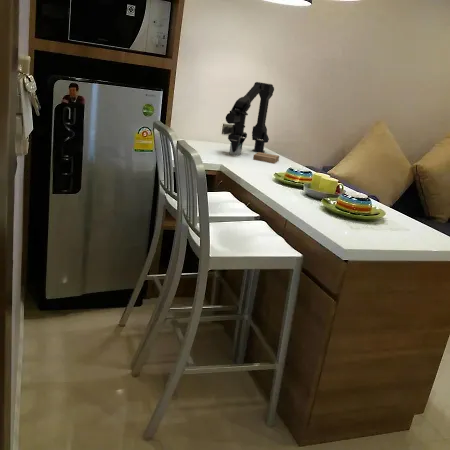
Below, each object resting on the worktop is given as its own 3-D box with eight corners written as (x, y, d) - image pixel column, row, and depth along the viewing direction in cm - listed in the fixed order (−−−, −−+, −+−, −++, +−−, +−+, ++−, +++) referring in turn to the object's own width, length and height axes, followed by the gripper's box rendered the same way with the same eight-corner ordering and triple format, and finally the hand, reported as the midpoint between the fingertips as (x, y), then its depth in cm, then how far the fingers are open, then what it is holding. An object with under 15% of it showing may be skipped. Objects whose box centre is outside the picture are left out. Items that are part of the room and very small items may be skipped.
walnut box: (257, 157, 295) (258, 152, 294) (278, 161, 292) (279, 155, 291) (252, 160, 284) (253, 154, 283) (274, 164, 281) (275, 158, 280)
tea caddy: (231, 152, 295) (233, 142, 293) (241, 154, 294) (242, 143, 292) (229, 153, 290) (230, 143, 288) (238, 155, 289) (240, 145, 287)
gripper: (230, 119, 297) (226, 146, 302) (220, 122, 280) (217, 150, 285) (249, 122, 294) (245, 150, 299) (240, 125, 277) (236, 154, 282)
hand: (235, 151), depth 291 cm, fingers open, 9 cm apart
